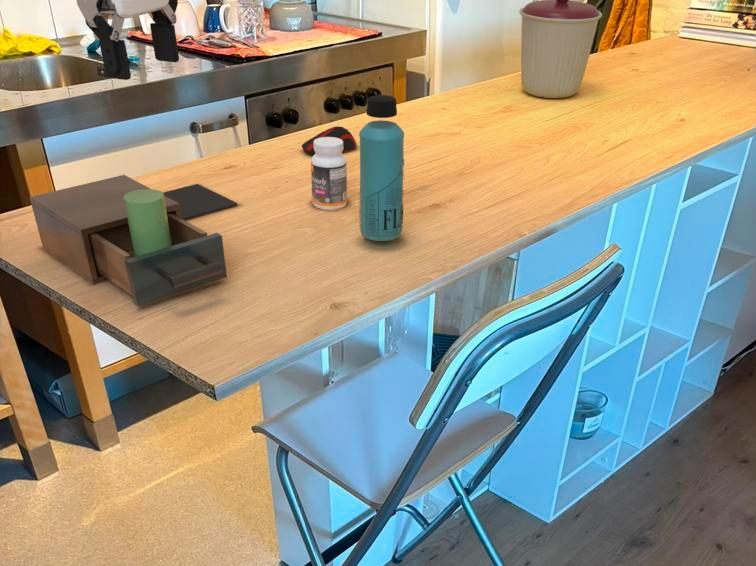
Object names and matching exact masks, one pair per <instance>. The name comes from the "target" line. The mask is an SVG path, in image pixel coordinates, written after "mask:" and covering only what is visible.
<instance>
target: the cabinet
mask: <svg viewBox="0 0 756 566" xmlns="http://www.w3.org/2000/svg"><path fill="white" fill-rule="evenodd" d="M141 189H151V187H148V186H147V185H145V184H144V183H141V182H139V181H137V180H136V179H134V178H131V177H129V176H128V175H126V174H122V175H117V176H113V177H107V178H104V179H100V180H96V181H92V182H87V183H82V184H79V185H74V186H70V187H66V188H62V189H61V188H60V189H57V190H54V191H49V192H44V193H41V194H40V193H39V194H36V195H32V196H29V200H30V205H31V208H32V211H33V216H34V220H35V223H36V227H37V231H38V235H39V238H40V241H41V242H40V243H41V245H42V249H43V250H44V251H45V252H47V253H48V254H50V255H51V256H52V257H54V258H55V259H57V260H58V261H60V262H61V263H62V264H64V265H65V266H67V267H68V268H70V269H71V270H72V271H73V272H75V273H76V274H78V275H79V276H81V278H83V279H85V280H86V281H88V282H89V283H91V284H92V285H96V284H99V283H104V282H105V281H106V282H107V281H110V280H109V279H107V278H106V277H104V276H103V275H101V274H100V273H99V272H97V271H96V268H95V264H94V260H93V255H92V251H91V246H90V242H89V238H88V234H90V233H94V232H98V231H101V230H105V229H109V228H112V227H116V226H120V225H124V224H127V223H128V219H127V213H126V208H125V203H124V195H125V194H127V193H129V192H131V191H135V190H141ZM164 199H165V205H166V211H167V213H168V212H170V213H172V214H174V215H175V216H177V217H179V218H181V211H180V204H179V203H177V202H175V201H173V200H171V199H169V198H168V197H166V196H164ZM181 219H182V218H181Z"/></svg>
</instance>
